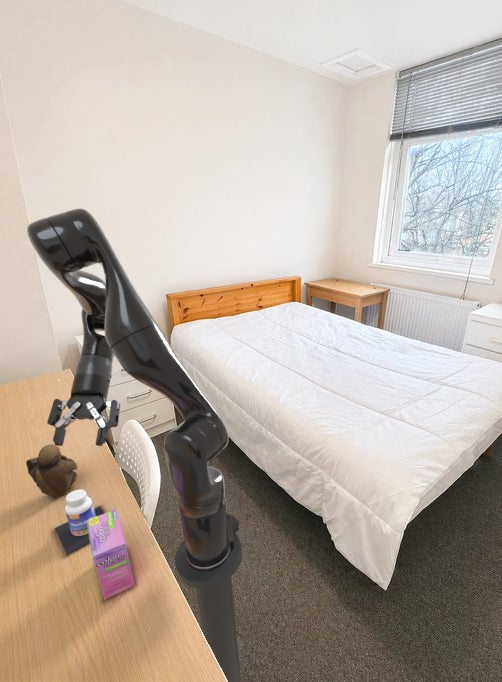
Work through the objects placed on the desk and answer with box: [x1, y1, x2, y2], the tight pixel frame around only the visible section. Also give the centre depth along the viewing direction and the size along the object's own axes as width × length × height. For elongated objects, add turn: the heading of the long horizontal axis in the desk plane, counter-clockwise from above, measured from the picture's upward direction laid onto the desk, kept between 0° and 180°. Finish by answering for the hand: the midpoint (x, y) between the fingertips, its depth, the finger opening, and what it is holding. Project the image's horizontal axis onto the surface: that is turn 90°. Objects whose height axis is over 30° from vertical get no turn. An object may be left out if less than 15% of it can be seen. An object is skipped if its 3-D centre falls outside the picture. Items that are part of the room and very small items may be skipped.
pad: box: [54, 506, 106, 556], centre depth 83 cm, size 10×10×1 cm
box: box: [87, 509, 135, 601], centre depth 71 cm, size 10×6×12 cm, turn 34°
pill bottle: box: [64, 488, 96, 536], centre depth 81 cm, size 5×5×10 cm
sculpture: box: [25, 443, 78, 498], centre depth 91 cm, size 11×11×15 cm
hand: (79, 445), depth 78 cm, fingers open, 8 cm apart
